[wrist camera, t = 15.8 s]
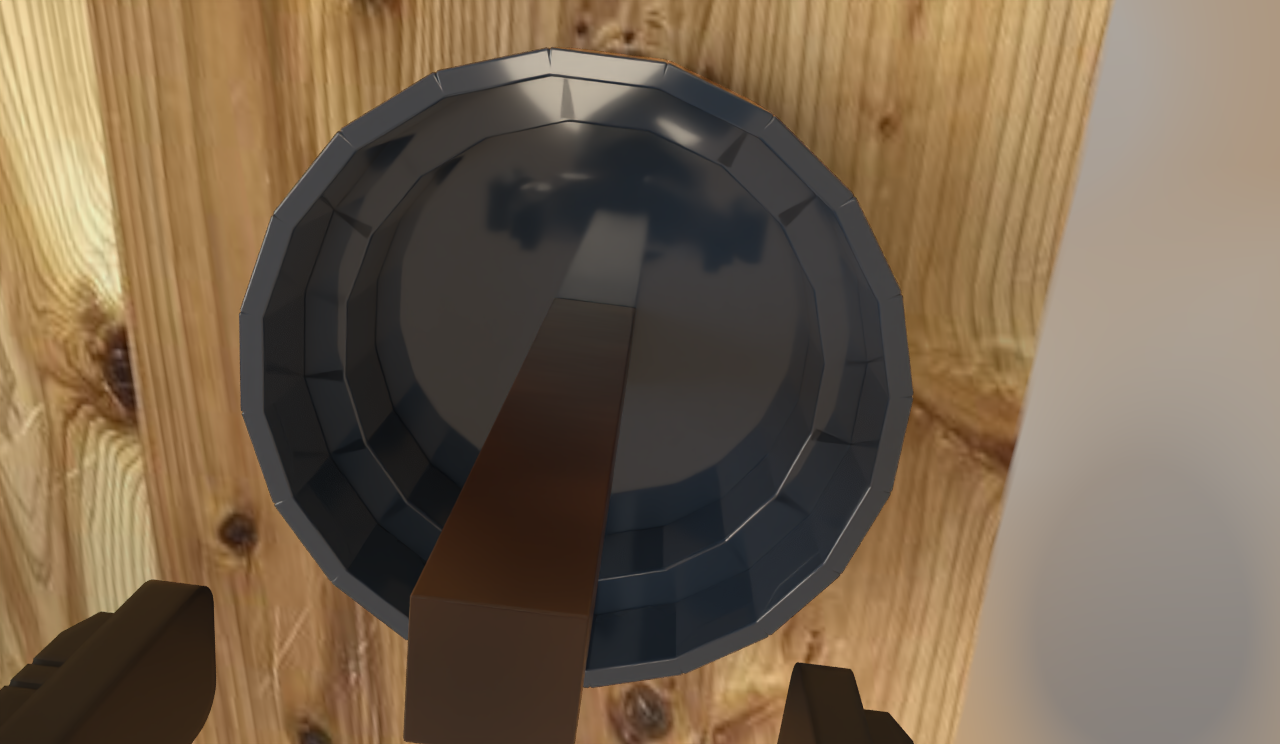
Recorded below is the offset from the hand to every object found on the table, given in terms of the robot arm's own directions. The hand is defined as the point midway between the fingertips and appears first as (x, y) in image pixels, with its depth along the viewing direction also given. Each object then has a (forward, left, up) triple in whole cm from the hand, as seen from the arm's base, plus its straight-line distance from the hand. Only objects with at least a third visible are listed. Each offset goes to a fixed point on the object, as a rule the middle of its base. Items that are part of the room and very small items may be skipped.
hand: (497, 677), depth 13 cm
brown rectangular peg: (0, 0, -16) cm, 16 cm away
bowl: (0, 0, -17) cm, 17 cm away
